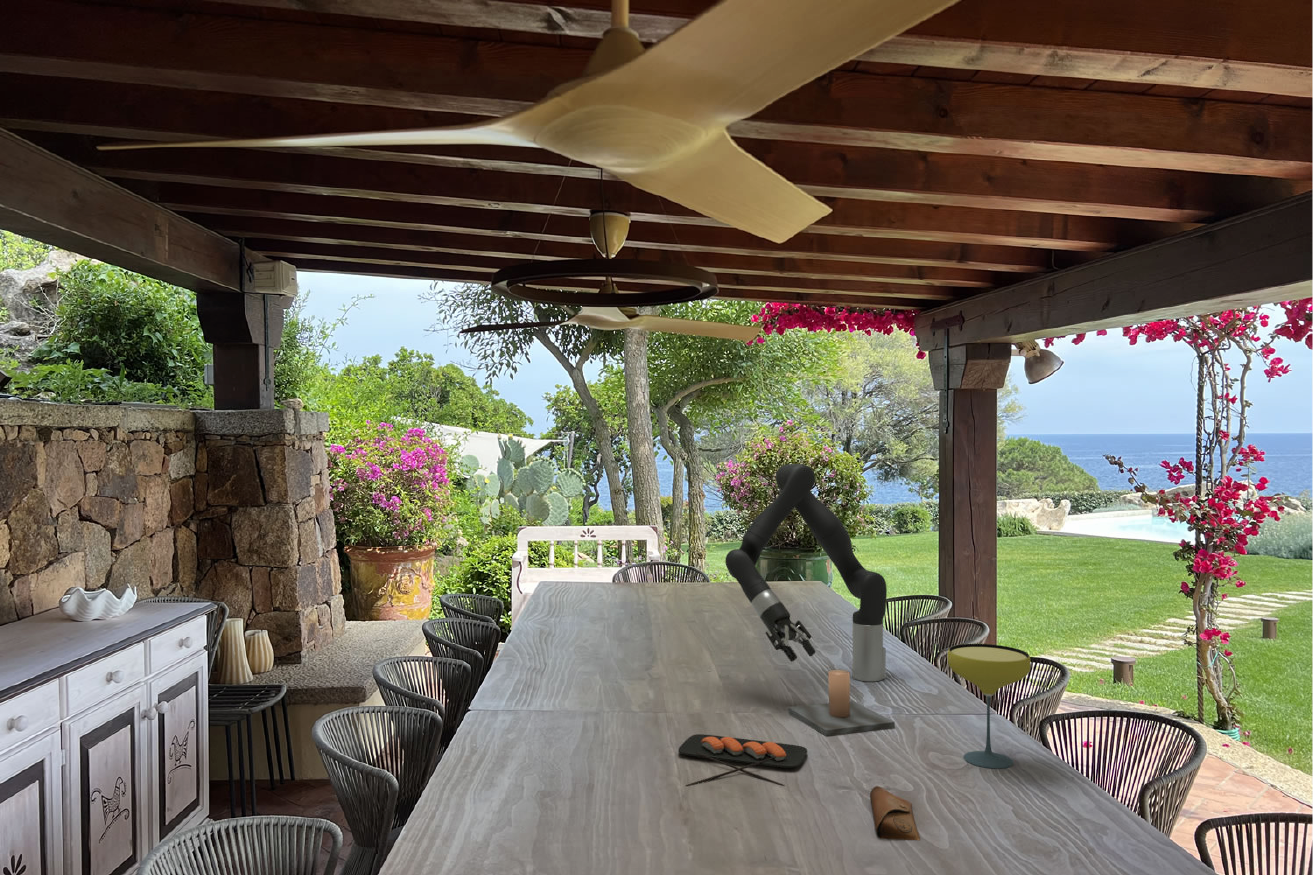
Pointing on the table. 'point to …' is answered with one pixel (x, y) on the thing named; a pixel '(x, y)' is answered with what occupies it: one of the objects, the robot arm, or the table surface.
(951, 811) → the table surface
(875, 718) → the charcoal board
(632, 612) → the table surface
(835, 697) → the tan dome-topped cylinder
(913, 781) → the table surface
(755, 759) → the sushi plate
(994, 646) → the cocktail glass
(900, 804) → the sunglasses case
